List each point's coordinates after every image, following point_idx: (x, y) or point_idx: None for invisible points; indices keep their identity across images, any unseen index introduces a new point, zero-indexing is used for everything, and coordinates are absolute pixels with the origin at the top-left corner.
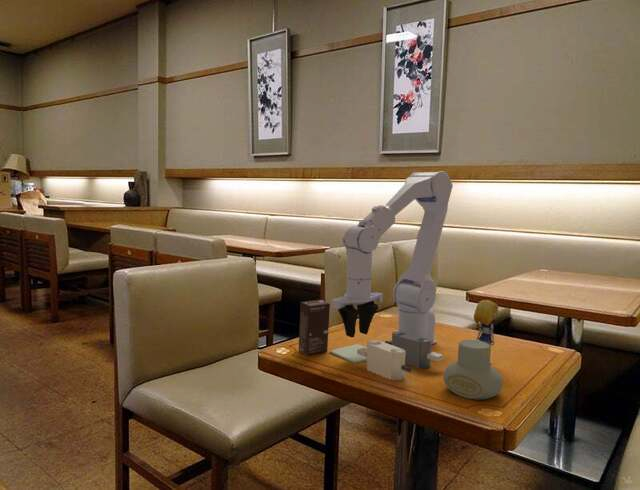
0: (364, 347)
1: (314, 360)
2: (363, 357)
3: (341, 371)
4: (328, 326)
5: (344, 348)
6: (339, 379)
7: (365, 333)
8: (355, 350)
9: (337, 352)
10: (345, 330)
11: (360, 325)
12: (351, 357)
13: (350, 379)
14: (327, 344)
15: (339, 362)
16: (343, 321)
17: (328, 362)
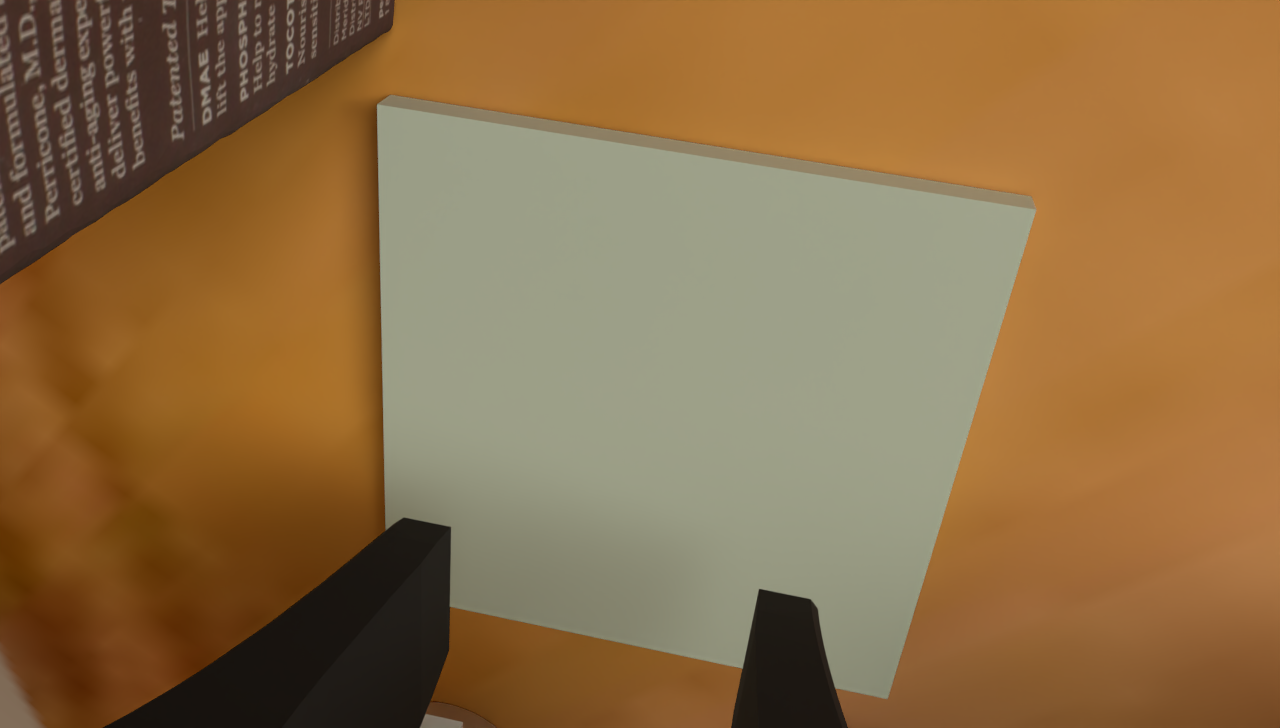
0: (946, 399)
1: None
2: (574, 591)
3: (131, 581)
4: (132, 196)
5: (653, 203)
6: (10, 660)
7: (733, 723)
8: (712, 381)
9: (426, 245)
10: (343, 569)
11: (748, 710)
12: (448, 492)
13: (99, 721)
14: (332, 66)
15: (270, 427)
16: (196, 686)
17: (151, 335)
